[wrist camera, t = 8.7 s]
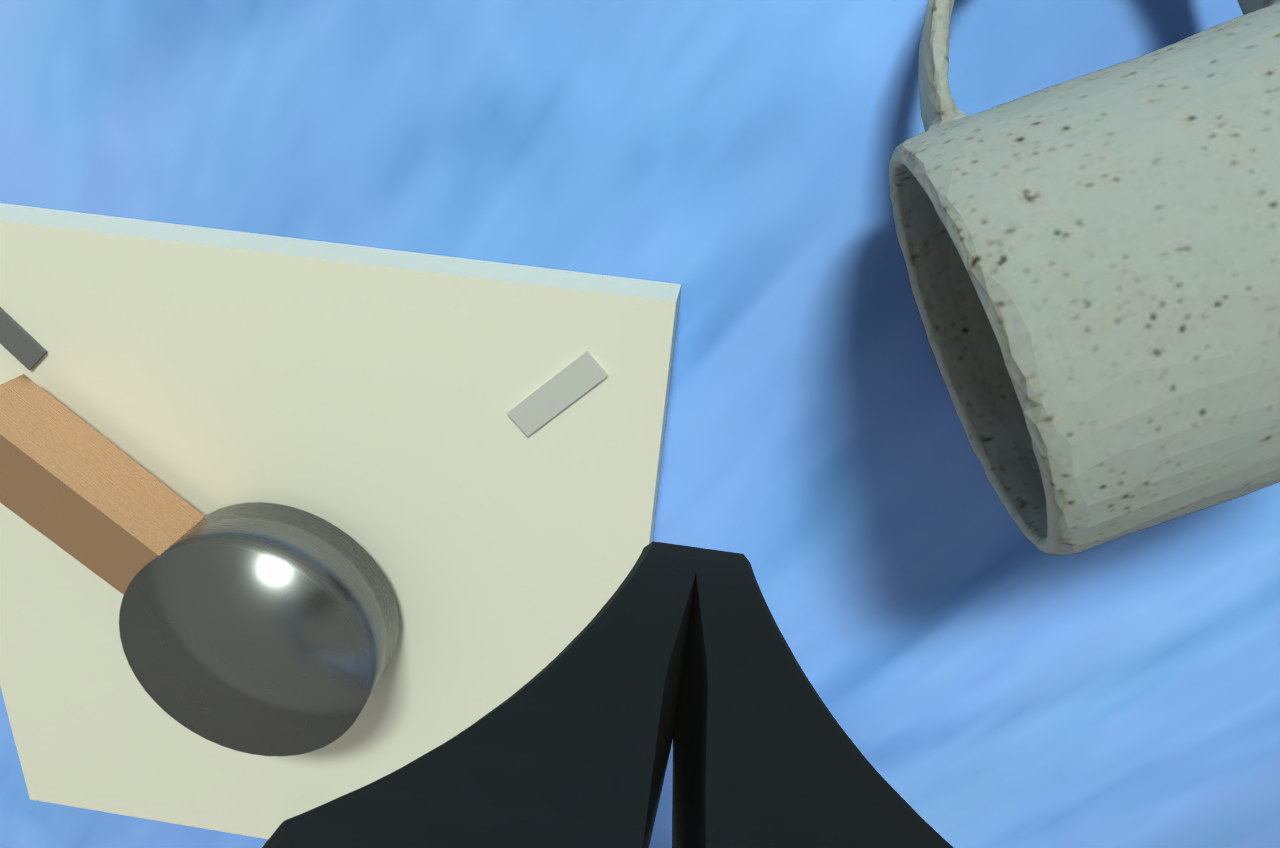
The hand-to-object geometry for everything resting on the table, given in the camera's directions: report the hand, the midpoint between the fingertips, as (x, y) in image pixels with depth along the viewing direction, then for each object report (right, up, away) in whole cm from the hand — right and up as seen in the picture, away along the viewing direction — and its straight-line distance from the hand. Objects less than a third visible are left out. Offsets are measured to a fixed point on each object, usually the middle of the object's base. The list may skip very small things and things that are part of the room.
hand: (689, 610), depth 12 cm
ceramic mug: (+8, +8, +6) cm, 13 cm away
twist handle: (-11, 0, +10) cm, 15 cm away
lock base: (-9, -1, +12) cm, 15 cm away
